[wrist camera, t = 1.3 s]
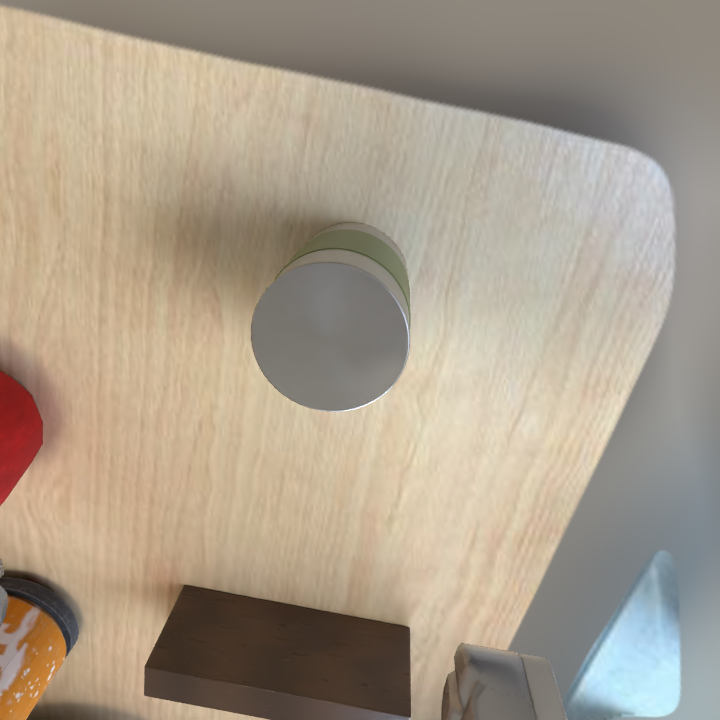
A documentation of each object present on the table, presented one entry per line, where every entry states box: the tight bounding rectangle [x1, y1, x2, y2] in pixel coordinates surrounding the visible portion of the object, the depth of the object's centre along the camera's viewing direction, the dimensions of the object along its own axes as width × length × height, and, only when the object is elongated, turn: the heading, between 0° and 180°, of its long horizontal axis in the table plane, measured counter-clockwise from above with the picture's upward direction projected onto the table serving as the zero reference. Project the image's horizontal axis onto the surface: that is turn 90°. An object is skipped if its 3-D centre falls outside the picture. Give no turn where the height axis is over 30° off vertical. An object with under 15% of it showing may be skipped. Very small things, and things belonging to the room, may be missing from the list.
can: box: [251, 223, 410, 412], centre depth 26 cm, size 7×7×10 cm
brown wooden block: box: [144, 585, 411, 720], centre depth 39 cm, size 18×6×7 cm, turn 80°
